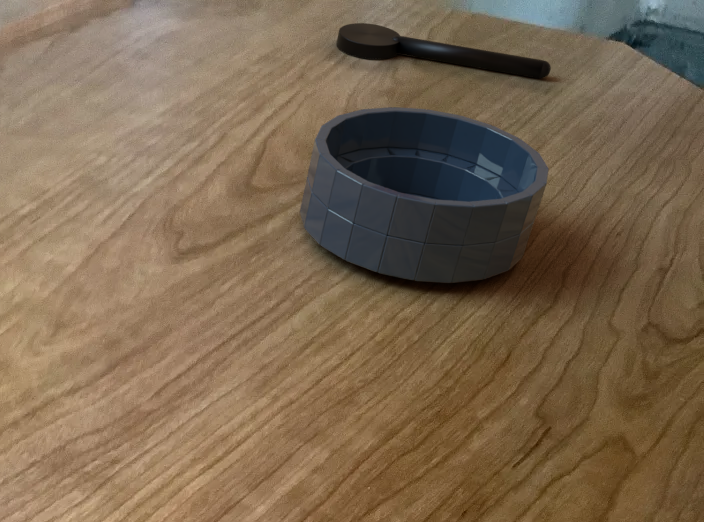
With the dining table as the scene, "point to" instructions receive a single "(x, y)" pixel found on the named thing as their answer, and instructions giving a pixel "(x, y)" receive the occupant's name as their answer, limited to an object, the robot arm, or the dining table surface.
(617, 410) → the dining table surface
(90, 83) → the dining table surface
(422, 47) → the dark round paddle
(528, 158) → the bowl
